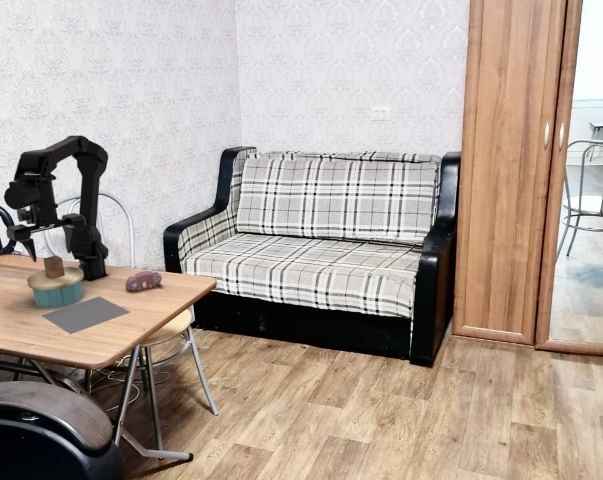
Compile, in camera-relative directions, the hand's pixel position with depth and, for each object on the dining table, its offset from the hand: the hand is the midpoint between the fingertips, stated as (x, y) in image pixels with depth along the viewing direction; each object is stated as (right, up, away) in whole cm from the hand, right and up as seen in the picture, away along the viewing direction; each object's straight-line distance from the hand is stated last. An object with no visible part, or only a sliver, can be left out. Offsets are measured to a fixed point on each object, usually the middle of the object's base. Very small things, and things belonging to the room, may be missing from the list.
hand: (52, 257), depth 154 cm
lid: (0, -6, +2) cm, 6 cm away
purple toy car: (+22, -10, +10) cm, 26 cm away
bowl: (0, -12, +4) cm, 12 cm away
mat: (+11, -15, -6) cm, 20 cm away
